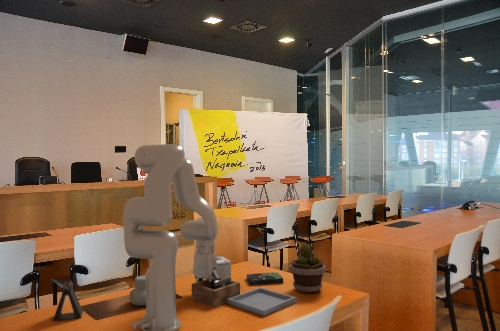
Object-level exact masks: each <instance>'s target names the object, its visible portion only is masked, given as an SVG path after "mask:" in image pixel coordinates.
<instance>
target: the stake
mask: <svg viewBox="0 0 500 331" xmlns="http://www.w3.org/2000/svg"><path fill="white" fill-rule="evenodd" d="M231 280H232V277H231V278H230V277H228V278H225V279H221V280H218V281H215V282H214V285H219V284H221V287H225V283H226V282H229V281H231Z"/></svg>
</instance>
